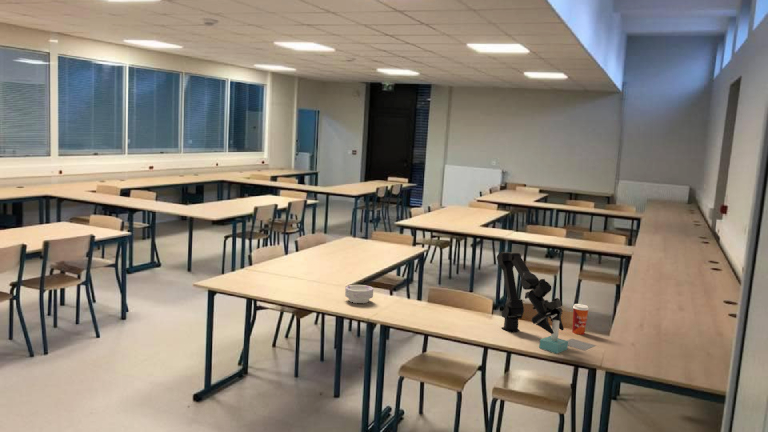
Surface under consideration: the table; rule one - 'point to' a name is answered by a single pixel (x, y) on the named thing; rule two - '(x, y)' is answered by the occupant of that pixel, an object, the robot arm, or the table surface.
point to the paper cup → (579, 318)
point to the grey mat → (579, 344)
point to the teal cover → (554, 340)
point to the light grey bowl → (359, 293)
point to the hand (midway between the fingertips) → (558, 331)
